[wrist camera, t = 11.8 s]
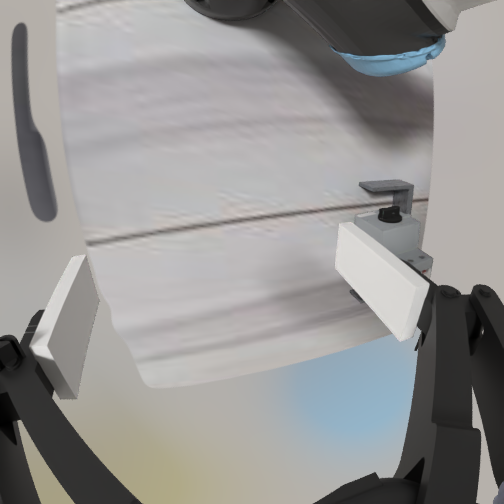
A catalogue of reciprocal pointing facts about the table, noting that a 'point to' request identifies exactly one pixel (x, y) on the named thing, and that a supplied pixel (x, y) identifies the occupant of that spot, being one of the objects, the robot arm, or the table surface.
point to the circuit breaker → (396, 235)
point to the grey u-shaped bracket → (400, 198)
